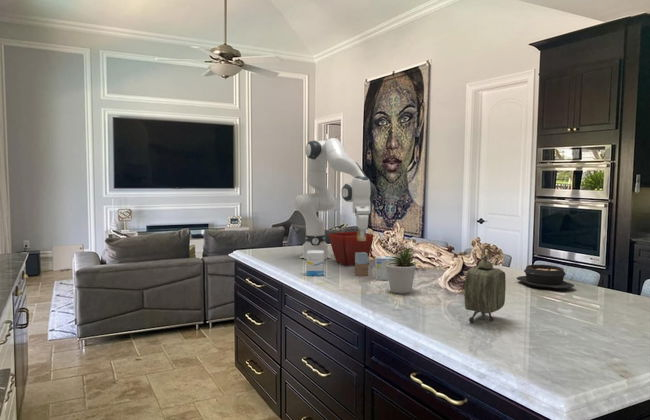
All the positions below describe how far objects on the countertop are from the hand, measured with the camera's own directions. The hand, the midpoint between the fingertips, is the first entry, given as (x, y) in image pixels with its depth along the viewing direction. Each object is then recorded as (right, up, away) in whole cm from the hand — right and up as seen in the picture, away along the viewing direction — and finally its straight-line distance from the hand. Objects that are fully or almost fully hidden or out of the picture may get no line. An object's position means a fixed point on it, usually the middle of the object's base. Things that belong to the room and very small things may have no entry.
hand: (361, 237), depth 237 cm
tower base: (0, -19, +1) cm, 19 cm away
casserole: (+80, -21, -24) cm, 86 cm away
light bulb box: (+11, -20, -8) cm, 24 cm away
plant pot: (-4, -17, +32) cm, 37 cm away
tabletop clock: (+37, -24, -74) cm, 86 cm away
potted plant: (+15, -22, -33) cm, 42 cm away
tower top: (0, -13, +1) cm, 13 cm away
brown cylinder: (0, -2, 0) cm, 2 cm away
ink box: (-23, -19, +3) cm, 30 cm away
